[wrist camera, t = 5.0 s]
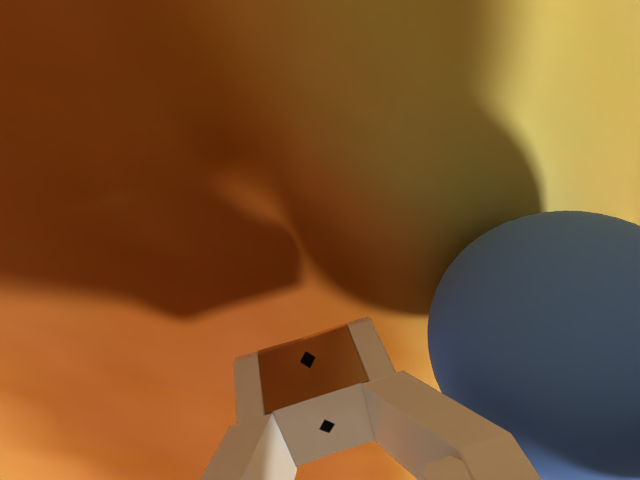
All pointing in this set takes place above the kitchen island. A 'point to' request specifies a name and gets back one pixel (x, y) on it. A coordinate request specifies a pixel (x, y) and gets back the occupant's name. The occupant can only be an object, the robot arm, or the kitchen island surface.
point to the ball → (548, 340)
